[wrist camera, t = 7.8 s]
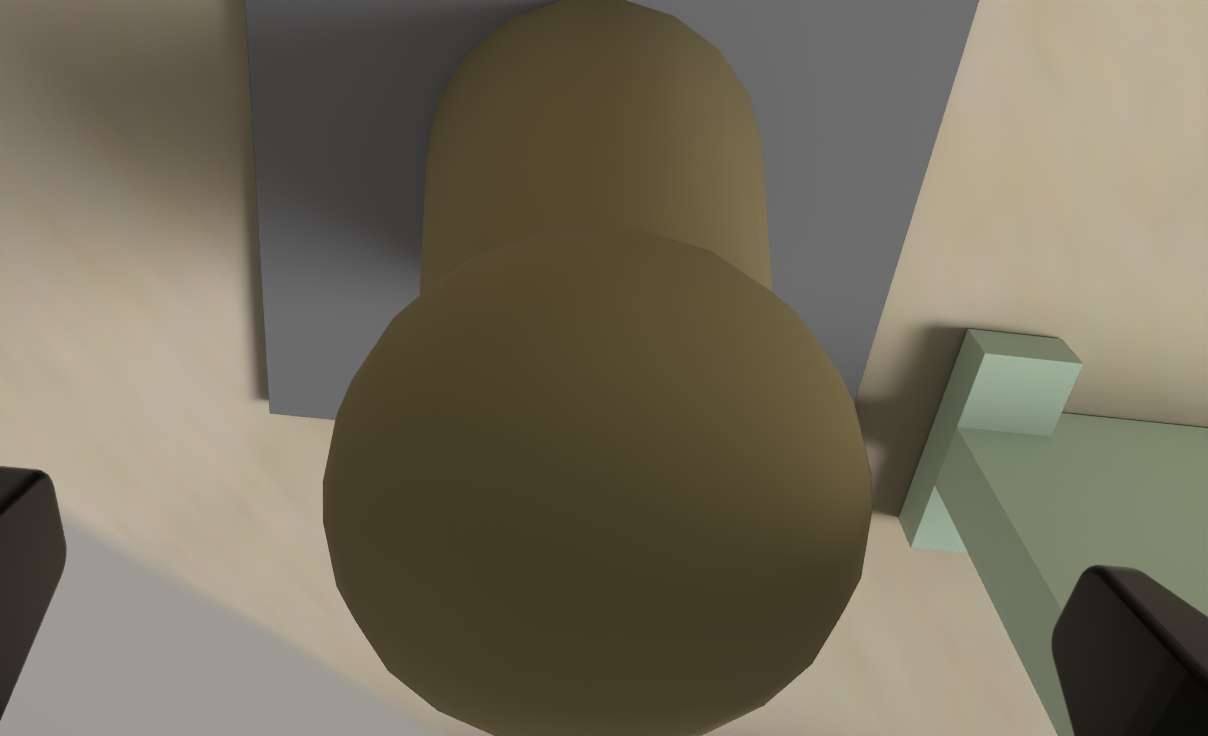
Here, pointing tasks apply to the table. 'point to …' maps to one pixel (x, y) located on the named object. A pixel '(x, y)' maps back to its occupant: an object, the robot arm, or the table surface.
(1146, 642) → the robot arm
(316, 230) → the mat
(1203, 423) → the table surface
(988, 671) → the table surface
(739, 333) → the olive bulbous piece
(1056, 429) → the screen
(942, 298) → the table surface
